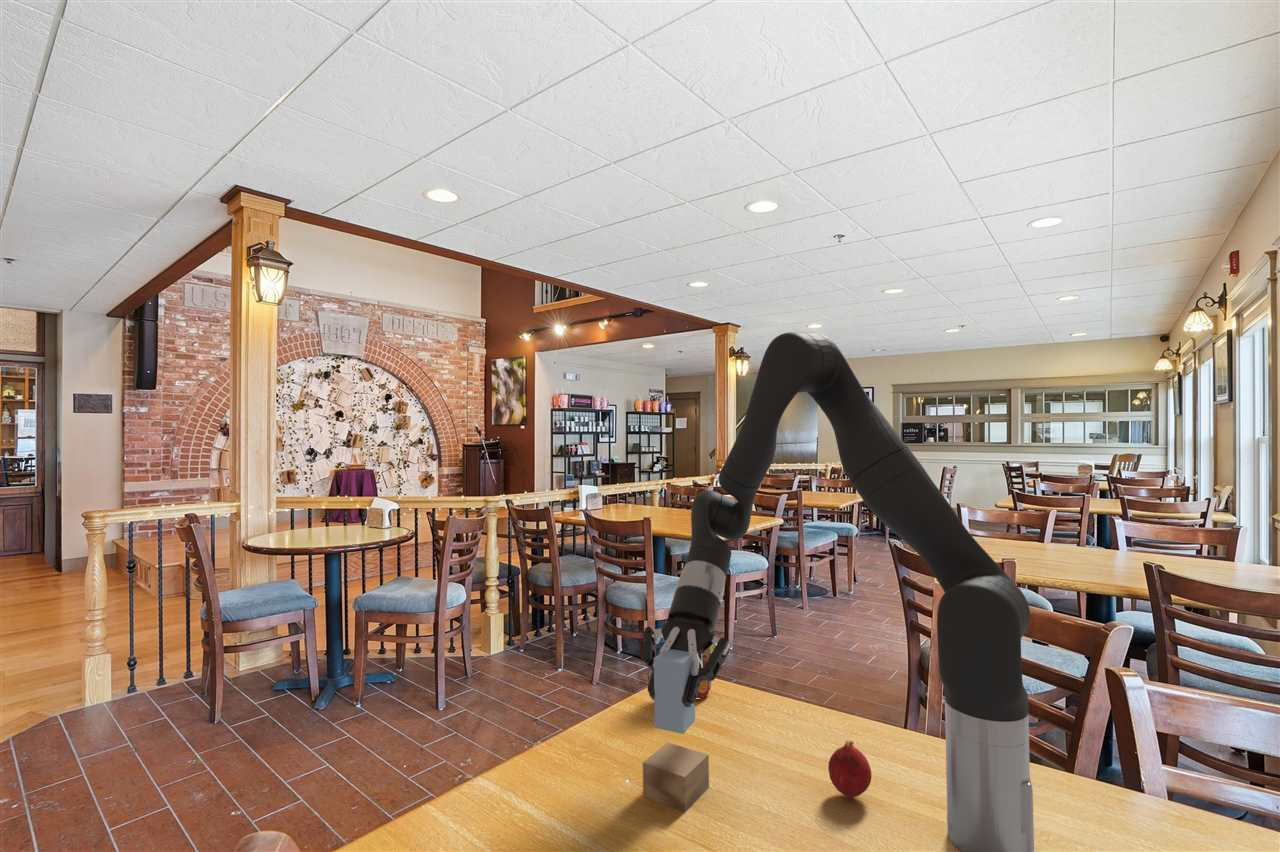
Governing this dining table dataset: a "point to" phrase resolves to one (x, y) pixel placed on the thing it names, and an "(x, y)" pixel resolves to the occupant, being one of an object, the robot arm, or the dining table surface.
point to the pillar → (672, 691)
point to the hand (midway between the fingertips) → (669, 700)
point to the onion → (849, 770)
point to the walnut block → (676, 776)
